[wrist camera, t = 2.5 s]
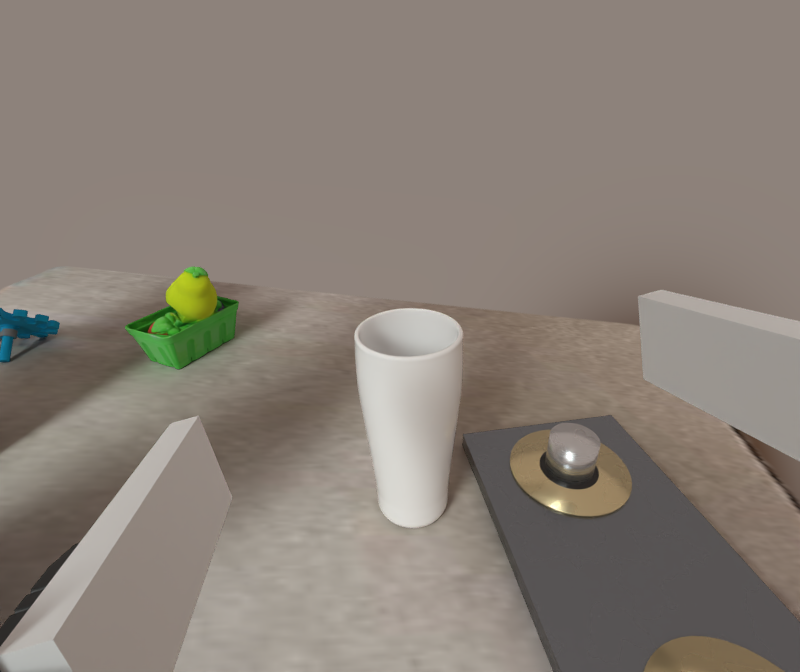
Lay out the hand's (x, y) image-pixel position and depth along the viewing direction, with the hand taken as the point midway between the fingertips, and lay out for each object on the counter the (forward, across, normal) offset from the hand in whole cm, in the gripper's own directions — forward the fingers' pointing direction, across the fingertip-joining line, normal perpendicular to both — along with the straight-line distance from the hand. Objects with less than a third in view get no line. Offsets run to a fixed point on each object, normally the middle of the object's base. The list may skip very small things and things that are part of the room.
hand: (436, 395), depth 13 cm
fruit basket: (+45, -22, -7) cm, 51 cm away
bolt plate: (+8, +11, -20) cm, 24 cm away
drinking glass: (+17, -1, -17) cm, 24 cm away
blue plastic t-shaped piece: (+50, -46, -2) cm, 68 cm away
